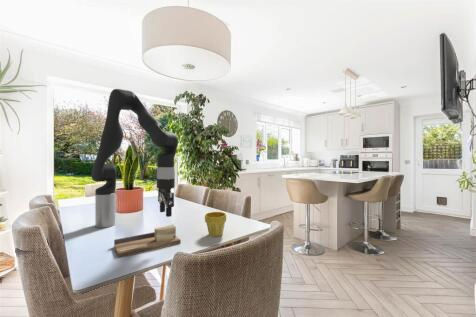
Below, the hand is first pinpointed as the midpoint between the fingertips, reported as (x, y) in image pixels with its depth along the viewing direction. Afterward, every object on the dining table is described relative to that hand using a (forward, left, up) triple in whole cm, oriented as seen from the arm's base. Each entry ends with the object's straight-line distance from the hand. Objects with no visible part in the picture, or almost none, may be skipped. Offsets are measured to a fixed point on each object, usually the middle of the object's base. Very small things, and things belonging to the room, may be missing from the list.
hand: (165, 214), depth 99 cm
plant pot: (+4, +23, -13) cm, 26 cm away
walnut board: (-1, -7, -12) cm, 14 cm away
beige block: (0, 0, -11) cm, 11 cm away
